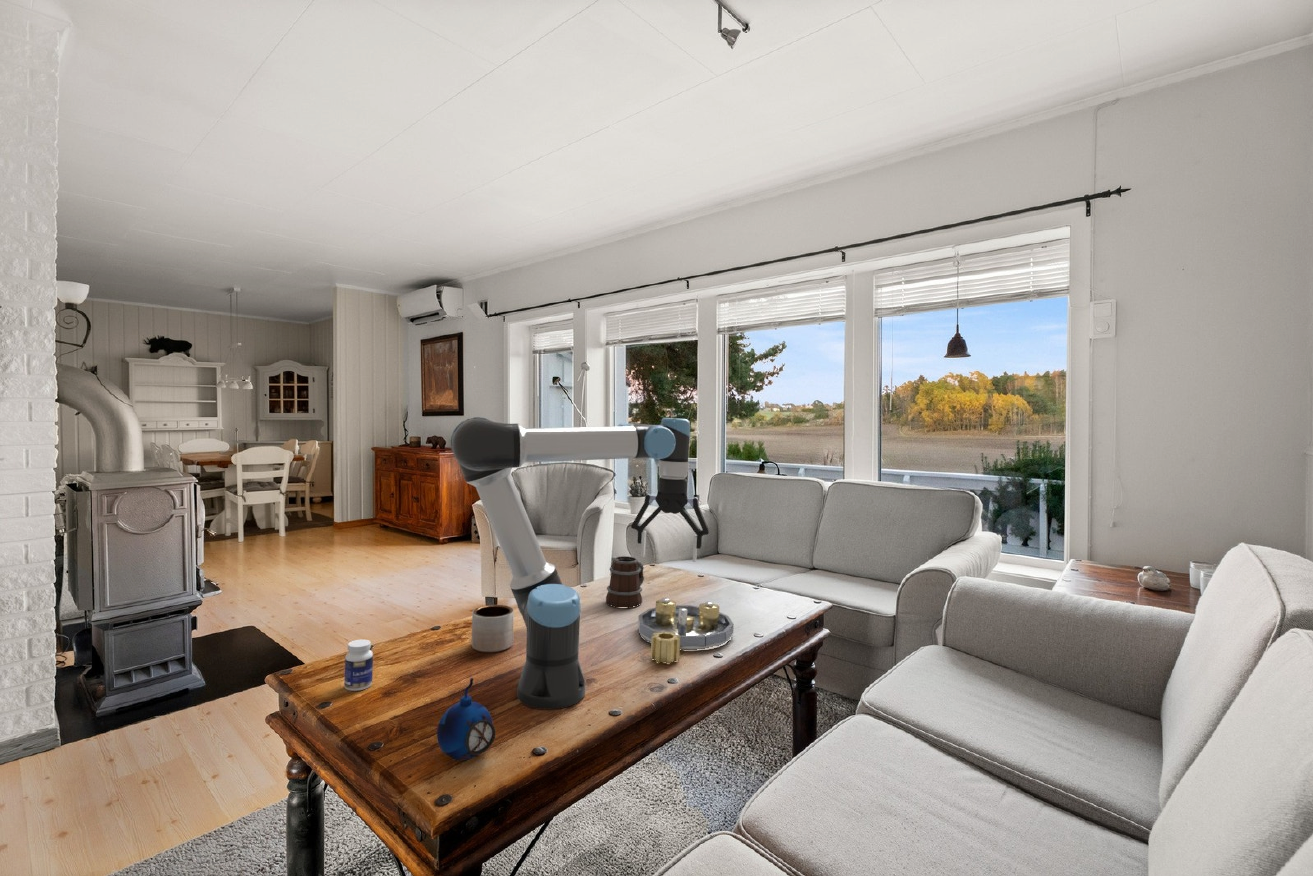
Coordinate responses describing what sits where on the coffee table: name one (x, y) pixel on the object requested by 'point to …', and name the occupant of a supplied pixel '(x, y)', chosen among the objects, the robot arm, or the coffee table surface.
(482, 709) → the bomb
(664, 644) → the planet gear
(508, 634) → the planter
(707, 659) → the coffee table surface
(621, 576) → the mug
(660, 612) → the carrier
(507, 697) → the coffee table surface
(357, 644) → the pill bottle
